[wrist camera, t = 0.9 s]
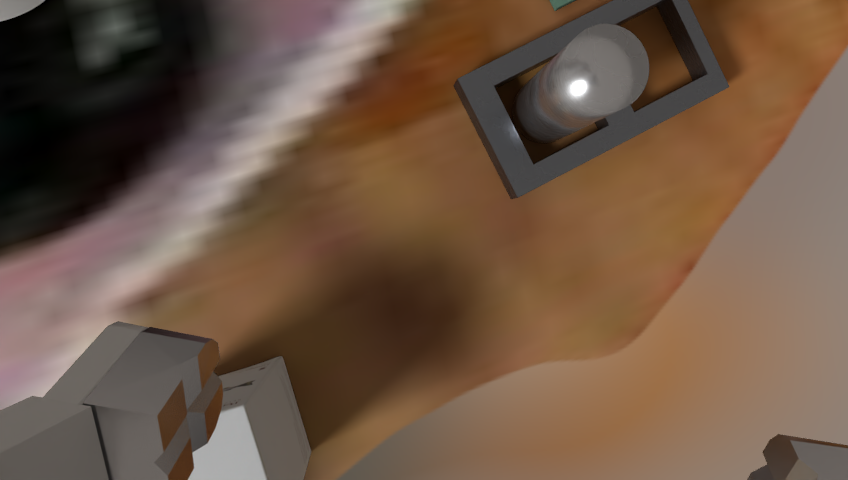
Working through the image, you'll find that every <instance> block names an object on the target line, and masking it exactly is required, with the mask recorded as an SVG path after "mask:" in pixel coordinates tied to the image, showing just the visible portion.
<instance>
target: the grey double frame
mask: <svg viewBox="0 0 848 480" xmlns="http://www.w3.org/2000/svg"><path fill="white" fill-rule="evenodd" d="M655 7H658V9H659V11H660V13H661V15H662V17H663V19H664V22H665V24H666V26H667V28H668V30H669V32H670V34H671V36H672V38H673V40H674V42H675V44H676V46H677V48H678V50H679V52H680V55H681V57H682V59H683V61H684V63H685V65H686V67H687V69H688V71H689V73H690V75H691V77H692V79H693V81H692V82H690V83H688V84H686V85H684V86H682V87H680V88H678V89H676V90H674V91H673V92H671V93H669V94H667V95H665V96H663V97H661V98H659V99H657V100H655V101H653V102H651V103H649V104H648V105H646V106H644V107H642V108H640V109H638V110H636V111H633V109H632V107H631V105H629V106H627V107H625V108H623V109H621V110H619V111H617V112H615V113H613V114H611V115H609V116H607V117H605V118H603V119H601V120H598V121H596V122H595V124H596V126H597V128H598V131H596V132H594V133H592V134H590V135H588V136H586V137H584V138H582V139H580V140H578V141H576V142H574V143H573V144H571V145H569V146H567V147H565V148H563V149H561V150H559V151H557V152H555V153H553V154H551V155H549V156H548V157H546V158H544V159H542V160H540V161H538V162H536V163H534V164H533V163H532V161H531V159H530V157H529V155H528V153H527V151H526V149H525V147H524V145H523V143H522V141H521V139H520V137H519V135H518V133H517V131H516V129H515V127H514V125H513V123H512V121H511V119H510V117H509V115H508V113H507V111H506V109H505V107H504V105H503V103H502V101H501V99H500V97H499V95H498V93H497V91H496V89H495V88H497V87H499V86H501V85H503V84H505V83H507V82H509V81H511V80H513V79H515V78H517V77H519V76H521V75H523V74H525V73H527V72H529V71H531V70H533V69H535V68H537V67H539V66H541V65H543V64H545V63H547V62H549V61H550V60H552V59H553V58H554V57H555V56H556V55H557V54H558V53H559V52H560V51H561V50H562V49H563V48H564V47H566V46H567V45H568V44H569V43H570V42H571V41H572V40H573V39H574V38H575V37H576V36H577V35H578V34H579V33H581V32H582V31H583V30H585V29H587V28H589V27H591V26H594V25H598V24H614V25H618V26H619V25H621V24H623V23H625V22H627V21H629V20H631V19H633V18H635V17H637V16H639V15H641V14H643V13H645V12H647V11H649V10H651V9H653V8H655ZM454 87H455V89H456V91H457V93H458V95H459V97H460V99H461V101H462V103H463V105H464V107H465V109H466V111H467V113H468V115H469V117H470V119H471V121H472V123H473V125H474V127H475V129H476V131H477V133H478V135H479V137H480V139H481V141H482V143H483V145H484V147H485V149H486V151H487V153H488V154H489V156H490V158H491V160H492V162H493V164H494V166H495V168H496V170H497V172H498V174H499V176H500V178H501V180H502V182H503V184H504V186H505V188H506V190H507V192H508V194H509V196H510V198H511V199H514V198H518V197H520V196H522V195H524V194H526V193H528V192H529V191H531V190H533V189H535V188H537V187H539V186H541V185H543V184H545V183H547V182H549V181H550V180H552V179H554V178H556V177H558V176H560V175H562V174H564V173H566V172H568V171H570V170H571V169H573V168H575V167H577V166H579V165H581V164H583V163H585V162H587V161H589V160H591V159H592V158H594V157H596V156H598V155H600V154H602V153H604V152H606V151H608V150H610V149H612V148H614V147H615V146H617V145H619V144H621V143H623V142H625V141H627V140H629V139H631V138H633V137H635V136H636V135H638V134H640V133H642V132H644V131H646V130H648V129H650V128H652V127H654V126H656V125H657V124H659V123H661V122H663V121H665V120H667V119H669V118H671V117H673V116H675V115H677V114H678V113H680V112H682V111H684V110H686V109H688V108H690V107H692V106H694V105H696V104H698V103H700V102H701V101H703V100H705V99H707V98H709V97H711V96H713V95H715V94H717V93H719V92H721V91H722V90H724V89H726V88H728V87H729V85H728V83H727V81H726V79H725V77H724V75H723V73H722V70H721V68H720V66H719V64H718V62H717V60H716V58H715V56H714V54H713V52H712V50H711V48H710V46H709V43H708V41H707V39H706V37H705V35H704V33H703V31H702V29H701V27H700V25H699V23H698V21H697V19H696V16H695V14H694V12H693V10H692V8H691V6H690V4H689V2H688V0H613V1H611V2H609V3H607V4H605V5H603V6H601V7H599V8H597V9H595V10H593V11H591V12H589V13H587V14H585V15H583V16H581V17H579V18H577V19H575V20H573V21H571V22H569V23H567V24H565V25H563V26H561V27H559V28H557V29H555V30H553V31H552V32H550V33H548V34H546V35H544V36H542V37H540V38H538V39H536V40H534V41H532V42H530V43H528V44H526V45H524V46H522V47H520V48H518V49H516V50H514V51H512V52H510V53H508V54H506V55H504V56H502V57H500V58H498V59H496V60H494V61H492V62H490V63H488V64H486V65H484V66H482V67H480V68H478V69H476V70H474V71H472V72H470V73H468V74H466V75H464V76H462V77H460V78H458V79H457V81H456V82H455V84H454Z"/></svg>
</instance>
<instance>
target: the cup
mask: <svg viewBox="0 0 848 480" xmlns="http://www.w3.org/2000/svg"><path fill="white" fill-rule="evenodd" d="M648 76H649V61H648V56H647V53H646V51H645V48H644V47H643V45H642V43H641V42H640V40H639V39H638V38H637V37H636V36H635V35H634V34H633V33H631V32H630V31H629V30H627V29H625V28H623V27H621V26H618V25H614V24H598V25H594V26H591V27H589V28H587V29H585V30H583V31H582V32H581V33H579V34H578V35H577V36H576V37H575V38H574V39H573V40H572V41H571V42H570V43H569V44H568V45H567V46H566V47H564V48H563V49H562V50H561V51H560V52H559V53H558V54H557V55H556V56H555V57H554V58H553V59H552V60H551V61H550V62H549V63H547V64H546V65H545V66H544V67H543V68H542V69H541V70H540V71H539V72H538V73H537V74H536V75H535V76H534V77H533V78H532V79H531V80H529V81H528V82H527V83H526V84H525V85H524V86H523V87H522V88H521V89H520V90H519V92H518V93H517V95H516V96H515V99H514V101H513V106H512V115H513V120H514V123H515V125H516V127H517V129H518V130H519V132H520V133H521V134H522V135H523V136H524V137H526V138H527V139H529V140H531V141H533V142H537V143H551V142H555V141H557V140H559V139H561V138H563V137H565V136H567V135H570V134H572V133H574V132H576V131H578V130H580V129H582V128H584V127H586V126H588V125H590V124H592V123H594V122H596V121H598V120H601V119H603V118H605V117H607V116H609V115H611V114H613V113H615V112H617V111H619V110H621V109H623V108H625V107H627V106H629V105H630V104H632V103H633V102H634V101H636V99H637V98H638V97H639V96H640V95H641V93H642V92H643V90H644V88H645V86H646V84H647V81H648Z"/></svg>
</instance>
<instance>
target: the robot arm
mask: <svg viewBox="0 0 848 480" xmlns="http://www.w3.org/2000/svg"><path fill="white" fill-rule="evenodd" d="M44 1H45V0H0V21H4V20H7V19H11V18H14V17H17V16H19V15H21V14H24V13H26V12H28V11H30V10H32V9H33V8H35V7H37V6H38V5H40V4H41V3H42V2H44ZM219 361H220V354H219V347H218V342H216V341H215V340H213V339H209V338H204V337H199V336H194V335H189V334H184V333H178V332H173V331H168V330H163V329H158V328H153V327H149V328H148V327H143V326H138V325H133V324H128V323H123V322H116V323H113V324H111V325H109V326H108V327H106V328H105V330H104V331H103V332H102V333H101V334H100V335H99V336H98V337H97V338H96V339H95V341H94V342H93V343H92V344H91V345H90V346H89V347H88V348H87V349H86V350H85V352H84V353H83V354H82V355H81V356H80V357H79V358H78V359H77V360H76V361H75V363H74V364H73V365H72V366H71V367H70V368H69V369H68V370H67V371H66V372H65V374H64V375H63V376H62V377H61V378H60V379H59V380H58V381H57V382H56V384H55V385H54V386H53V387H52V388H51V389H50V390H49V391H48V392H47V393H46V395H45V396H44V397H43V398H42V397H35V396H31V397H29V398H27V399H25V400H23V401H20V402H18V403H16V404H14V405H12V406H9V407H7V408H5V409H3V410H0V480H188V478H189V477H190V475H191V473H192V471H193V469H194V462H193V454H192V453H193V452H194V451H196V450H198V449H199V448H201V447H203V446H204V445H206V444H207V443H208V442H209V440H210V438H211V436H212V434H213V432H214V430H215V428H216V425H217V422H218V419H219V415H220V412H221V409H222V400H223V386H222V381H221V380H220V379H219V377H218V376H217V375H216V374H215V373H214V369H215V368H216V366H217V364H218V362H219ZM763 454H764V457H765V459H766V462H767V465H765V466H764V467H761V468H760V469H758V470H756V471H754V472H752V473H751V474H750V476H749V478H748V480H848V445H843V444H836V443H830V442H824V441H818V440H811V439H805V438H798V437H793V436H786V435H780V434H778V435H777V436H775V437H774V438H772V439H771V440H770V441H769V442H768V444H767V446H766V447H765V449H764V451H763Z"/></svg>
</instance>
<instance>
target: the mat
mask: <svg viewBox="0 0 848 480" xmlns="http://www.w3.org/2000/svg"><path fill="white" fill-rule="evenodd" d="M574 1H576V0H550V2H551V4H552V6H553V8H554V10H555V11H556V10H558V9H560V8H562V7H564V6H566V5H568V4H570V3H572V2H574Z"/></svg>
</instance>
